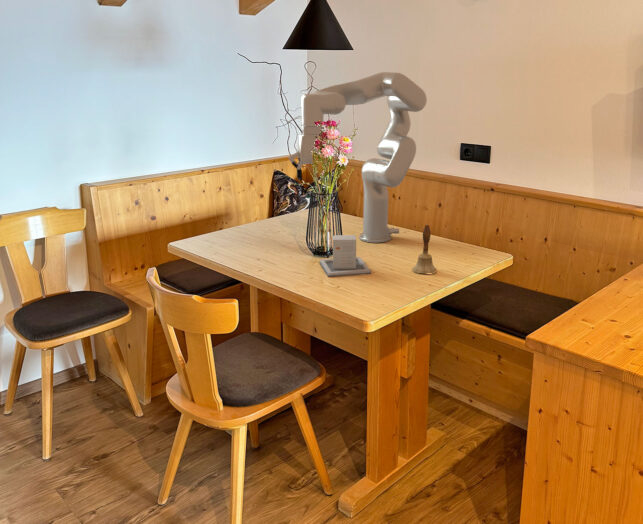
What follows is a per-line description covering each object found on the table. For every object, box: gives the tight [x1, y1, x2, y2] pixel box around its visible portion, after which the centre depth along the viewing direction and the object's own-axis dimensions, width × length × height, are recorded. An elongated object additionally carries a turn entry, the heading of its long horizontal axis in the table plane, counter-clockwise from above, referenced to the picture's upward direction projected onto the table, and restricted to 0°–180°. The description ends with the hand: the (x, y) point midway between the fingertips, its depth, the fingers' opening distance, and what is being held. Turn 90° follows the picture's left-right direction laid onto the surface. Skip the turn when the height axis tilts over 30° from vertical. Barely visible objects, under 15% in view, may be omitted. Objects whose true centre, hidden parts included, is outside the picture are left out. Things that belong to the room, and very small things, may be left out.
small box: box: [332, 234, 357, 269], centre depth 220 cm, size 8×6×10 cm
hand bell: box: [411, 224, 437, 275], centre depth 216 cm, size 8×8×16 cm
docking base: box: [318, 256, 372, 278], centre depth 221 cm, size 15×14×1 cm
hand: (313, 179), depth 228 cm, fingers open, 9 cm apart
